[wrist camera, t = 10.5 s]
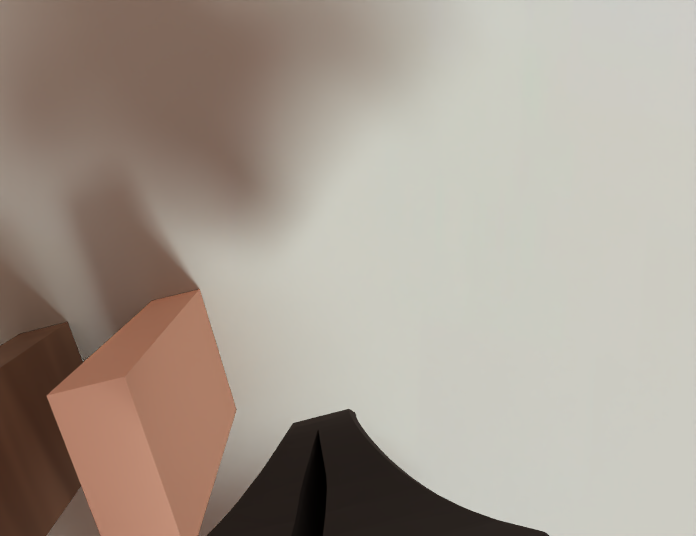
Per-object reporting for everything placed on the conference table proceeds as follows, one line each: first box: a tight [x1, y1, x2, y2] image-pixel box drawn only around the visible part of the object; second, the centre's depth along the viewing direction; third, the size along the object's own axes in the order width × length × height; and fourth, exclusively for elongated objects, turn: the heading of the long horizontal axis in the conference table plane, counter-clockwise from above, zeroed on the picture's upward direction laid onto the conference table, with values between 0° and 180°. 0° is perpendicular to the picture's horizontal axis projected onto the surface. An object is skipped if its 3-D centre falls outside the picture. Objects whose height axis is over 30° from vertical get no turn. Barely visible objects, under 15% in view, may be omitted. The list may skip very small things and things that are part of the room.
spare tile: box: [47, 289, 236, 536], centre depth 16 cm, size 2×5×8 cm, turn 13°
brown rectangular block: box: [0, 322, 83, 536], centre depth 16 cm, size 2×5×8 cm, turn 14°
